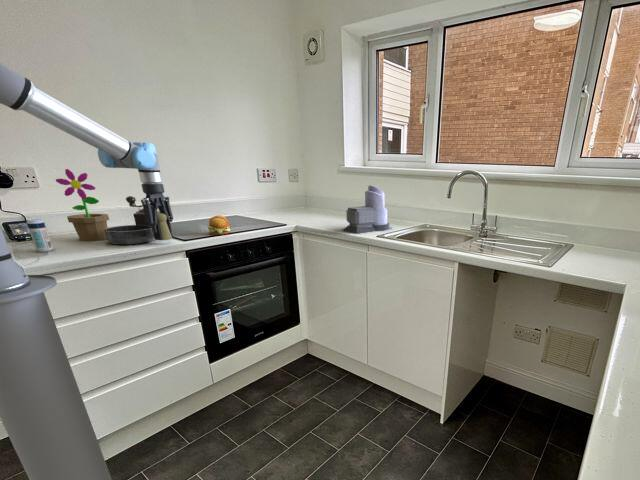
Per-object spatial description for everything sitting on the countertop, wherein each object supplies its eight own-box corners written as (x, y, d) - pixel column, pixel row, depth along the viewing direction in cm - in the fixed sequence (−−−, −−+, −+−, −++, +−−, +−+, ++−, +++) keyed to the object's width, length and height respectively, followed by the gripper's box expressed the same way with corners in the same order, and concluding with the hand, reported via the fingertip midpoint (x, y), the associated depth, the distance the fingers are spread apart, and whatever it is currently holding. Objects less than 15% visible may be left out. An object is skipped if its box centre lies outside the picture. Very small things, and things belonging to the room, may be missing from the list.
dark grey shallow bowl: (135, 246, 148) (132, 232, 146) (97, 244, 149) (93, 230, 147) (164, 238, 164) (161, 225, 162) (129, 237, 165) (126, 224, 163)
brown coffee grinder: (140, 229, 182) (131, 193, 175) (165, 228, 186) (157, 193, 180) (132, 235, 169) (123, 196, 162) (159, 234, 173) (151, 196, 167)
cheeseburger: (226, 230, 186) (225, 212, 181) (234, 238, 181) (233, 220, 176) (205, 232, 180) (204, 213, 175) (213, 240, 174) (212, 221, 169)
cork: (160, 237, 156) (154, 212, 152) (174, 237, 157) (169, 212, 153) (153, 240, 151) (147, 214, 147) (168, 240, 152) (162, 214, 147)
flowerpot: (69, 242, 151) (45, 168, 140) (79, 236, 162) (58, 167, 151) (110, 240, 157) (91, 169, 146) (117, 234, 169) (99, 168, 158)
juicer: (377, 224, 220) (377, 184, 211) (396, 228, 210) (397, 185, 202) (340, 230, 199) (339, 185, 190) (359, 234, 189) (358, 187, 180)
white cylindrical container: (51, 248, 140) (41, 218, 136) (55, 250, 138) (44, 220, 133) (35, 250, 137) (24, 219, 132) (38, 252, 134) (27, 221, 130)
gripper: (159, 181, 154) (170, 233, 163) (125, 184, 137) (139, 242, 145) (175, 182, 154) (186, 234, 162) (143, 184, 136) (156, 243, 145)
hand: (164, 238), depth 154 cm, fingers closed on cork, 6 cm apart
